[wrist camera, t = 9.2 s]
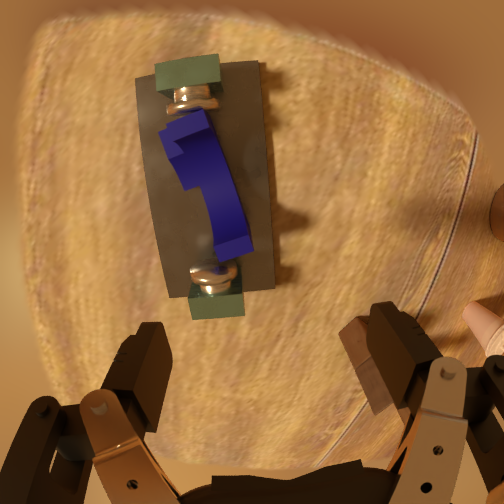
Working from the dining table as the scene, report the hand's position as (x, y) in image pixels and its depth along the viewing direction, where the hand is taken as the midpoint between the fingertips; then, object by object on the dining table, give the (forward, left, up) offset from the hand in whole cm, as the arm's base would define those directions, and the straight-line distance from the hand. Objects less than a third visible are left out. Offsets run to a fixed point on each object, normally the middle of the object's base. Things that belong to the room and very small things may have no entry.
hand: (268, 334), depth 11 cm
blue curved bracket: (+4, -3, -20) cm, 20 cm away
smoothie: (-35, +19, -21) cm, 45 cm away
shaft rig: (+4, -3, -20) cm, 21 cm away
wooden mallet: (-15, +20, -21) cm, 33 cm away
